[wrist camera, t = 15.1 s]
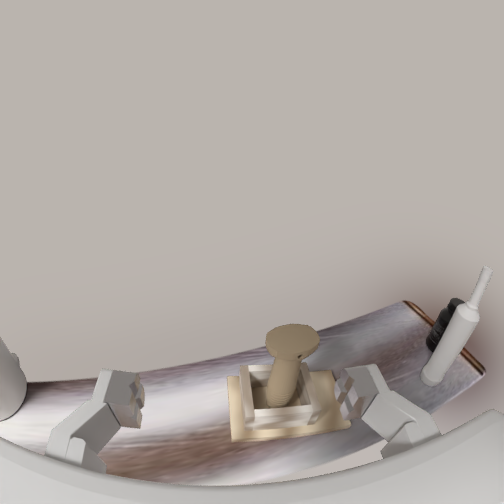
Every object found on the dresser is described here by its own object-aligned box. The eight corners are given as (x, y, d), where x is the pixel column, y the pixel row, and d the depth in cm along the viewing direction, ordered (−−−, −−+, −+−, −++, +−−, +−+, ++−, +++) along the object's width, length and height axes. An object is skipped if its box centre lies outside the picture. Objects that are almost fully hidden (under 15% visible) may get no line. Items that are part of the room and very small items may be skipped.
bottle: (439, 372, 45) (495, 266, 34) (440, 389, 41) (504, 280, 30) (419, 366, 47) (472, 258, 36) (418, 384, 43) (479, 271, 32)
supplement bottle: (449, 359, 48) (474, 316, 43) (425, 352, 51) (448, 308, 45) (448, 340, 53) (469, 299, 48) (425, 333, 56) (445, 291, 51)
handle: (251, 398, 40) (260, 329, 33) (289, 389, 42) (308, 320, 35) (261, 422, 36) (275, 357, 29) (301, 412, 38) (326, 345, 31)
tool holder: (231, 442, 34) (232, 425, 31) (227, 380, 44) (227, 359, 42) (349, 428, 36) (361, 410, 33) (328, 373, 47) (336, 353, 44)
